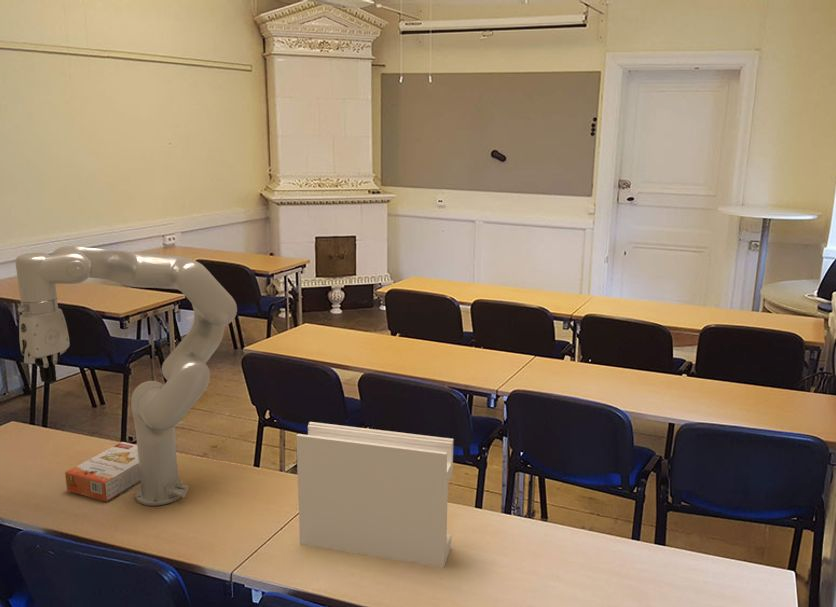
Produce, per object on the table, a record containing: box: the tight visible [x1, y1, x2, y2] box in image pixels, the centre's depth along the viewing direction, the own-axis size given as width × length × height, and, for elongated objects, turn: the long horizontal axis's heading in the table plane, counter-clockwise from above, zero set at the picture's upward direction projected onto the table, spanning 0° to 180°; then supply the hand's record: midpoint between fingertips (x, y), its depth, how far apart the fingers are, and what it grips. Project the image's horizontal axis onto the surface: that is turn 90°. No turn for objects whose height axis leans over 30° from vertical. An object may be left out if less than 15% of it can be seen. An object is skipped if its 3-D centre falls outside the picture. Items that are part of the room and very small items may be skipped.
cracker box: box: [64, 441, 140, 502], centre depth 199 cm, size 14×6×21 cm
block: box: [295, 421, 454, 568], centre depth 168 cm, size 35×8×28 cm, turn 75°
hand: (48, 381), depth 171 cm, fingers closed
